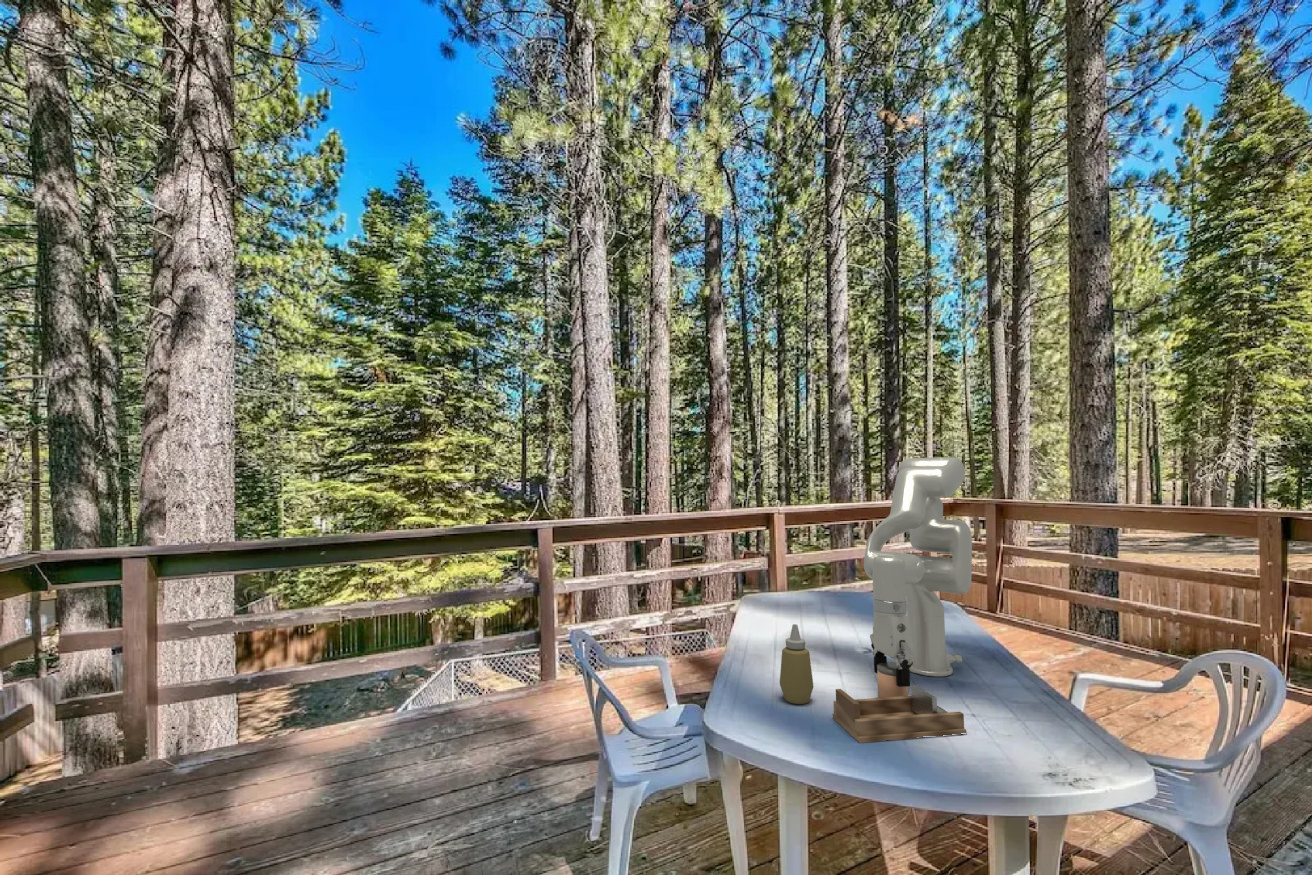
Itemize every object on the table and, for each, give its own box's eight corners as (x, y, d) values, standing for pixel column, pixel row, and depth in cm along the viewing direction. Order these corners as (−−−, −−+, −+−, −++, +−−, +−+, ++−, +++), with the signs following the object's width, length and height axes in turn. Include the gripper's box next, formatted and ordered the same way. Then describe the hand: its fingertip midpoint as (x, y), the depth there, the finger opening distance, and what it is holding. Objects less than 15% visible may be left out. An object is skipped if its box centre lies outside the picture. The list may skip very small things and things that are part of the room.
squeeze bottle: (814, 696, 138) (812, 622, 139) (812, 708, 130) (810, 630, 132) (781, 692, 141) (780, 619, 142) (777, 704, 133) (776, 627, 134)
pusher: (924, 709, 126) (923, 684, 127) (946, 724, 119) (945, 697, 119) (912, 710, 126) (911, 685, 126) (933, 725, 118) (932, 698, 119)
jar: (898, 694, 139) (897, 661, 139) (914, 705, 132) (913, 671, 133) (872, 696, 138) (871, 663, 138) (888, 707, 131) (886, 672, 132)
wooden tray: (930, 711, 129) (929, 680, 129) (966, 734, 117) (964, 700, 117) (832, 718, 125) (831, 686, 126) (859, 742, 113) (858, 707, 114)
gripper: (925, 614, 128) (928, 691, 127) (884, 600, 145) (886, 667, 144) (895, 614, 127) (897, 692, 126) (857, 600, 144) (859, 668, 143)
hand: (891, 679), depth 135 cm, fingers open, 9 cm apart
